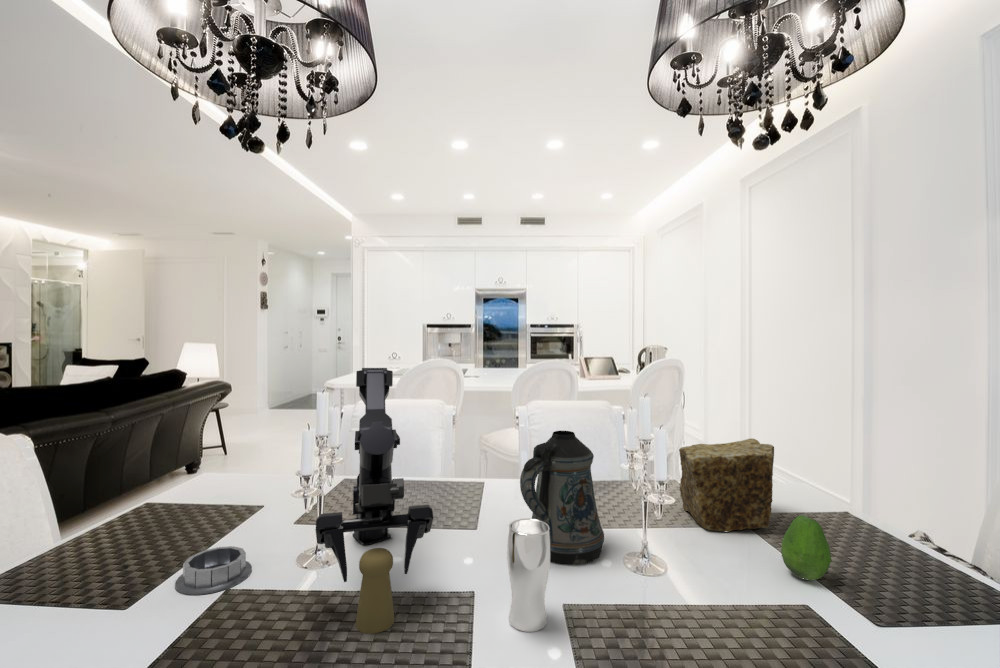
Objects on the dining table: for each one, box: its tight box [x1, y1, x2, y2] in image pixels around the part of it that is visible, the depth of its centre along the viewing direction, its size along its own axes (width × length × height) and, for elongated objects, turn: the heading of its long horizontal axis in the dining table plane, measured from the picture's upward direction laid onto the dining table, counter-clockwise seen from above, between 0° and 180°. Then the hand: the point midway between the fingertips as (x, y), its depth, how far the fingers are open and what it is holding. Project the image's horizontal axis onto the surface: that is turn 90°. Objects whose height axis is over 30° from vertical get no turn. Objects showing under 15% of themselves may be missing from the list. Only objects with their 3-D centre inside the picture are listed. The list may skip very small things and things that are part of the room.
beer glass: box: [506, 518, 551, 633], centre depth 74 cm, size 7×7×15 cm
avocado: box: [780, 514, 832, 581], centre depth 89 cm, size 8×8×12 cm
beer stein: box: [519, 430, 605, 566], centre depth 99 cm, size 16×19×25 cm
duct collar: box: [174, 545, 253, 596], centre depth 85 cm, size 12×12×4 cm
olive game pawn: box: [354, 547, 396, 635], centre depth 73 cm, size 6×6×11 cm
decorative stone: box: [678, 438, 775, 532], centre depth 117 cm, size 21×20×20 cm
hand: (376, 577), depth 72 cm, fingers open, 9 cm apart
